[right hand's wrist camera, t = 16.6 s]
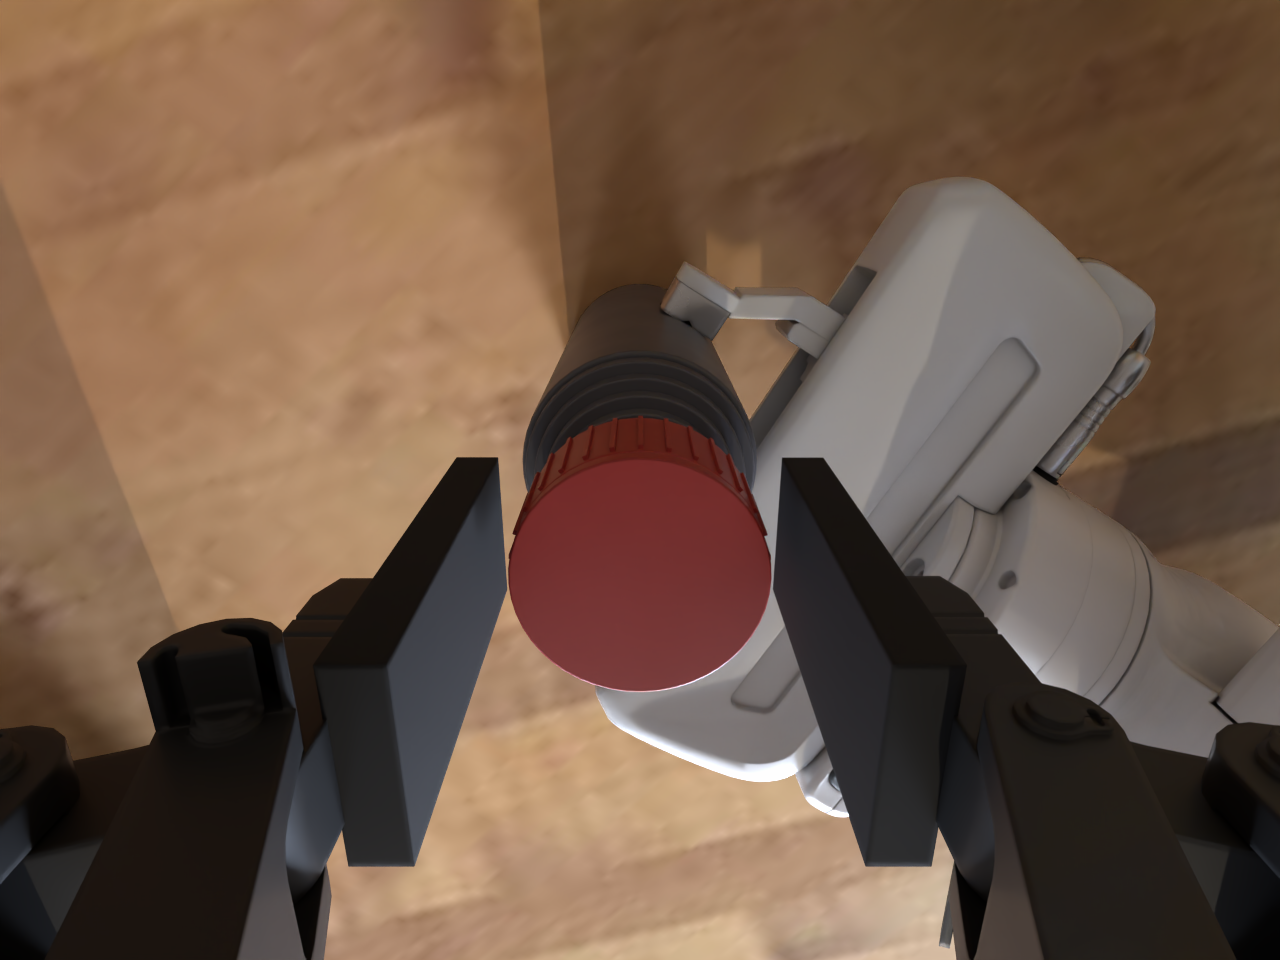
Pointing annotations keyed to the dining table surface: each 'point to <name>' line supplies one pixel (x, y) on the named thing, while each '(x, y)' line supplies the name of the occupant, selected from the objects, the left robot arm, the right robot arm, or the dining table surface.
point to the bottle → (638, 380)
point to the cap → (639, 557)
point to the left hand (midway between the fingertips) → (614, 380)
